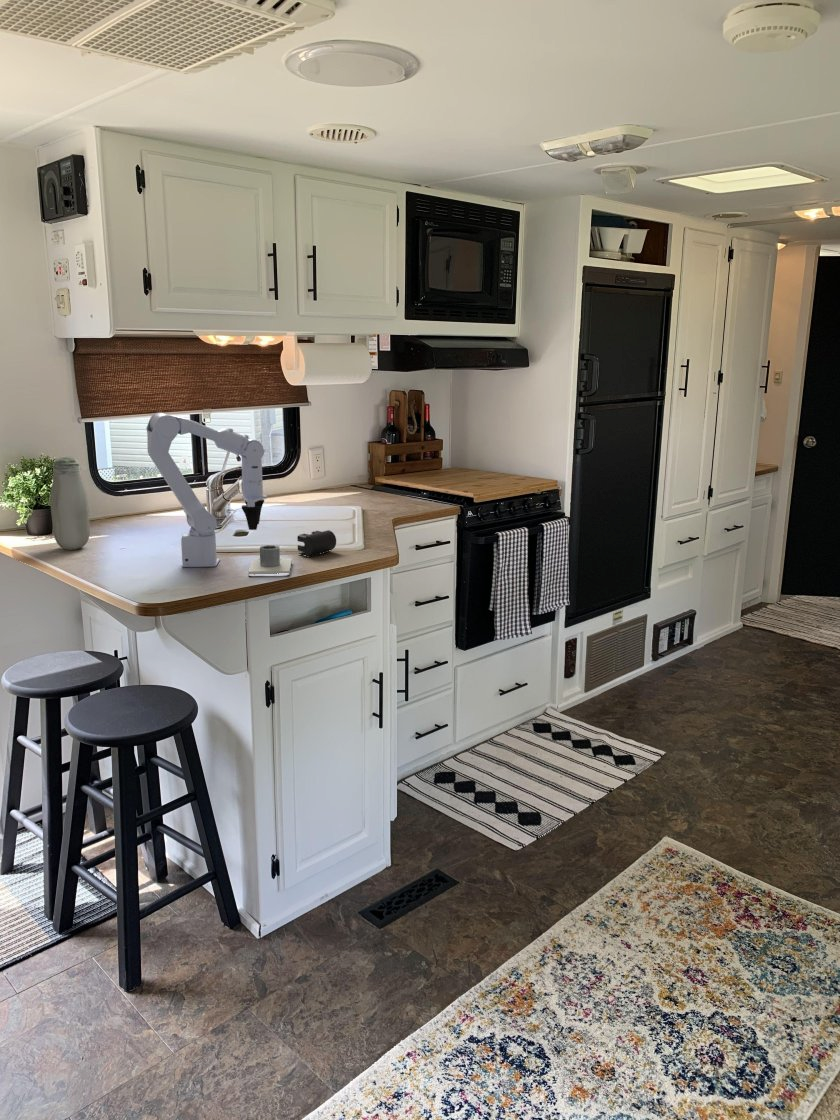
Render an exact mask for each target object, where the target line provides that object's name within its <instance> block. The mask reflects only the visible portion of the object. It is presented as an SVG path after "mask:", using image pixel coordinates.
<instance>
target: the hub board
mask: <svg viewBox="0 0 840 1120" xmlns="http://www.w3.org/2000/svg"><path fill="white" fill-rule="evenodd" d="M291 564H292V565H293V559H292V558H291V557H290V558H288V557H287V558H284V557H283V558H280V565H279V566H276V567H263V566H260V558H253V559H252V560H251V564H250V566H249V569H248V572H247V573H248V575H249V574H254V575H255V574H277V573H278V574H279V573H290V574H291V571H290V568H291V569H292V566H291Z"/></svg>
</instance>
